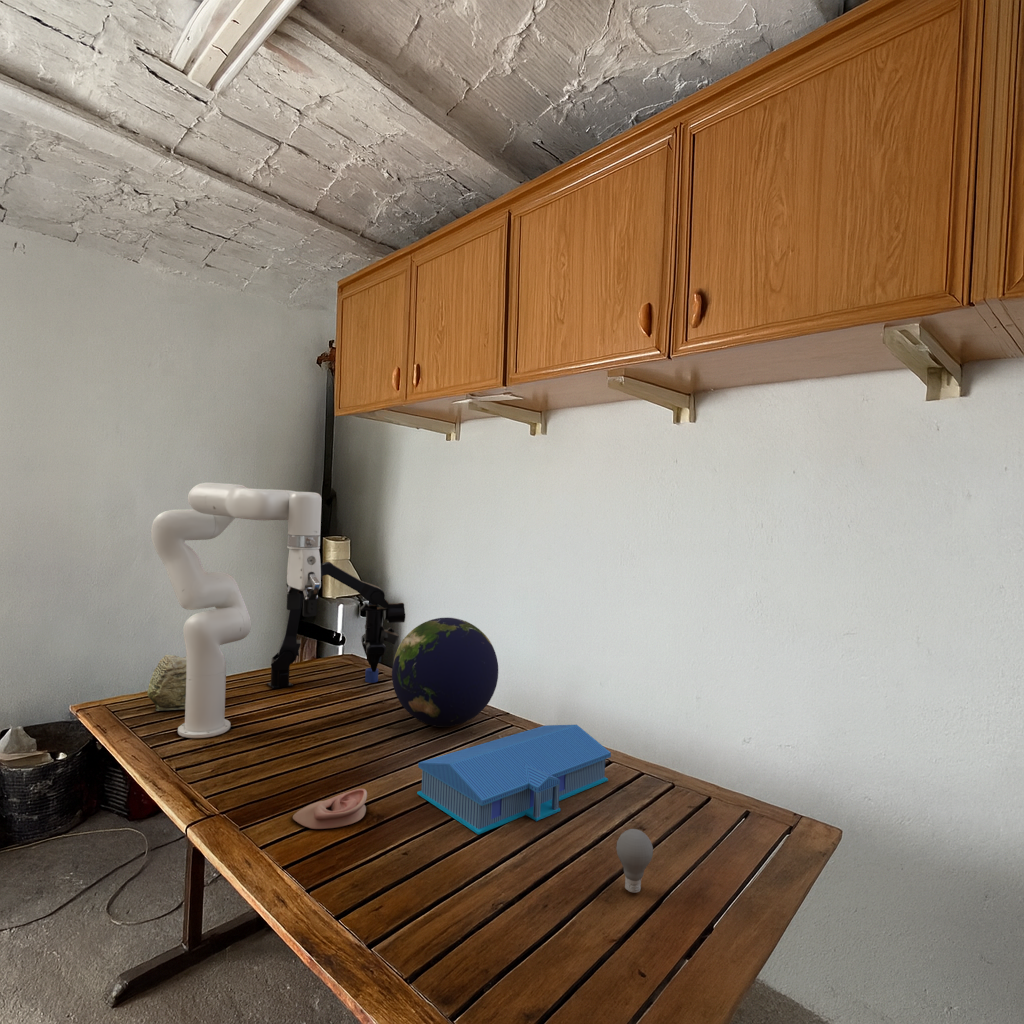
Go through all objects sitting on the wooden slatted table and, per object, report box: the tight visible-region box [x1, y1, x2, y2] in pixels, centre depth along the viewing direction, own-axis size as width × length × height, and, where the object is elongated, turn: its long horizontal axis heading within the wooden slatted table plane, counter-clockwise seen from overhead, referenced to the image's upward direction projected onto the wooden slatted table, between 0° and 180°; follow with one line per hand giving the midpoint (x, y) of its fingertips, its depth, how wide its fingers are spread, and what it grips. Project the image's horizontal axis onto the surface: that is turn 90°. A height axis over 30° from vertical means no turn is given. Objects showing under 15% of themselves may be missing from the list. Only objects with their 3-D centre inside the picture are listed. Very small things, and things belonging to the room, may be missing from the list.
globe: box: [391, 616, 499, 728], centre depth 179 cm, size 30×30×30 cm
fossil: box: [147, 654, 187, 712], centre depth 185 cm, size 9×18×15 cm, turn 132°
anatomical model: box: [292, 788, 368, 830], centre depth 126 cm, size 13×4×12 cm
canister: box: [364, 667, 380, 684], centre depth 218 cm, size 4×4×4 cm
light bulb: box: [615, 828, 654, 894], centre depth 106 cm, size 6×6×10 cm
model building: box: [416, 724, 612, 835], centre depth 141 cm, size 39×24×10 cm, turn 132°
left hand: (301, 612), depth 154 cm, fingers open, 9 cm apart
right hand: (372, 668), depth 218 cm, fingers open, 9 cm apart
